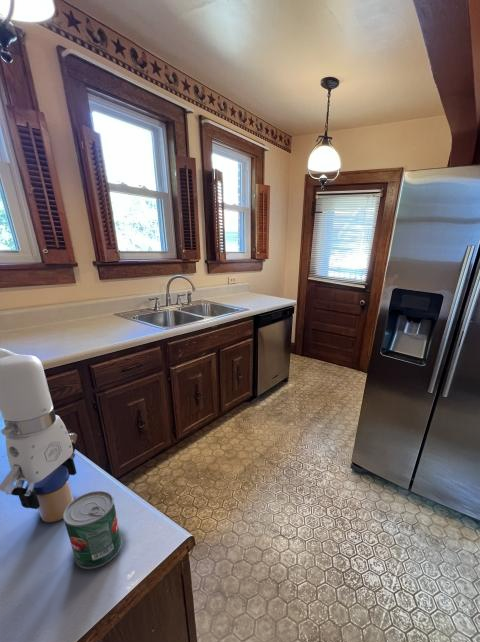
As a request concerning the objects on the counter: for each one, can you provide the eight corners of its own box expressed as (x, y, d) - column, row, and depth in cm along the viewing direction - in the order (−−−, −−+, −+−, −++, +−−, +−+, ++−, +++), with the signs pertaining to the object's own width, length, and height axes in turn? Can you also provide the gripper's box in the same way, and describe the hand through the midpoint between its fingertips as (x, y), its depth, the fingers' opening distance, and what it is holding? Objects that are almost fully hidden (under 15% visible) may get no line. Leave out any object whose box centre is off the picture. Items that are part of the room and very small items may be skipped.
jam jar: (40, 527, 64) (29, 493, 60) (41, 506, 69) (30, 474, 65) (76, 514, 67) (67, 482, 64) (74, 495, 72) (66, 464, 68)
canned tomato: (65, 560, 58) (51, 516, 54) (100, 526, 65) (91, 485, 60) (97, 575, 55) (86, 531, 51) (131, 539, 62) (123, 497, 58)
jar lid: (70, 467, 69) (68, 461, 69) (68, 487, 64) (67, 480, 63) (32, 476, 66) (30, 470, 65) (27, 498, 61) (24, 492, 60)
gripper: (5, 449, 51) (32, 526, 57) (82, 400, 66) (96, 465, 73) (-35, 443, 51) (-4, 519, 58) (50, 397, 67) (67, 460, 74)
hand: (51, 489), depth 66 cm, fingers open, 9 cm apart
